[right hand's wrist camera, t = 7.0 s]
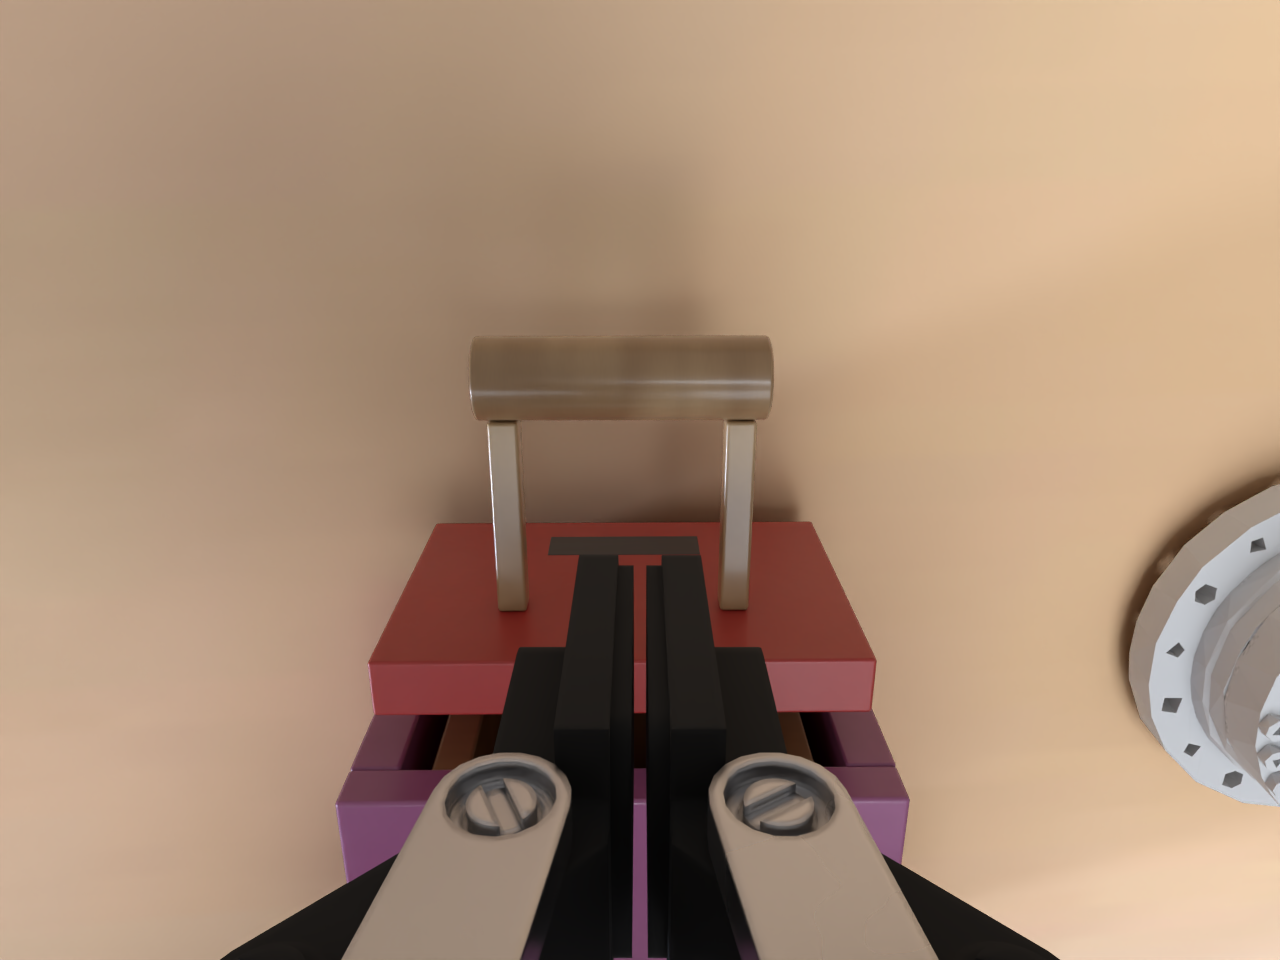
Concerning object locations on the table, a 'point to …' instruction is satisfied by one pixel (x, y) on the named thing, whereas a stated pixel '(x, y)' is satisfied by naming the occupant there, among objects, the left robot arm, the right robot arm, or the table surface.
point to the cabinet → (839, 741)
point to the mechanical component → (1217, 654)
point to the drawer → (614, 545)
